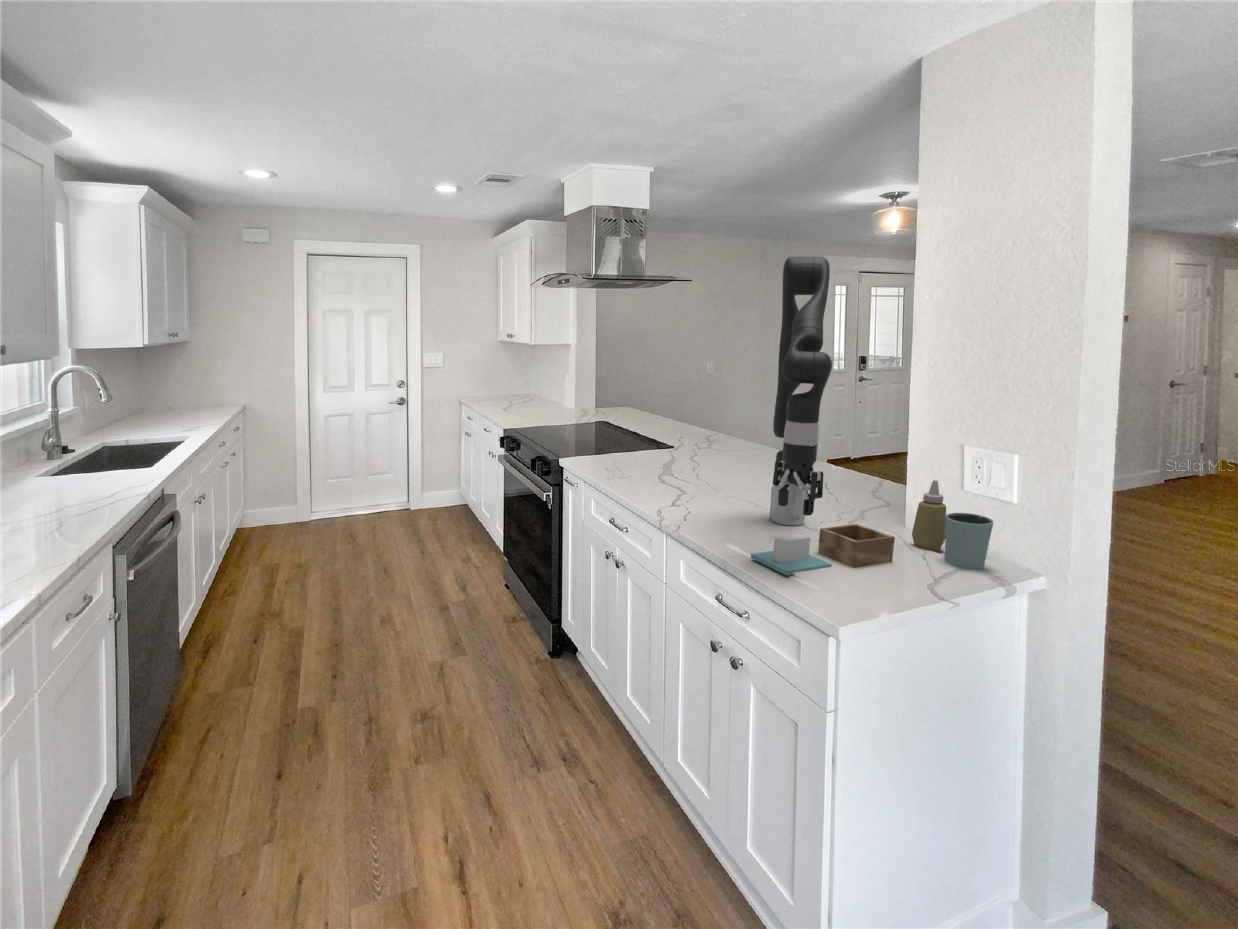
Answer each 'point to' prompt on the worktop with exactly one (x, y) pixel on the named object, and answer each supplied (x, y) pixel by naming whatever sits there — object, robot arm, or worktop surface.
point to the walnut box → (856, 545)
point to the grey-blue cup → (967, 539)
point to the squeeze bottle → (930, 520)
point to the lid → (790, 555)
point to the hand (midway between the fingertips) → (795, 510)
